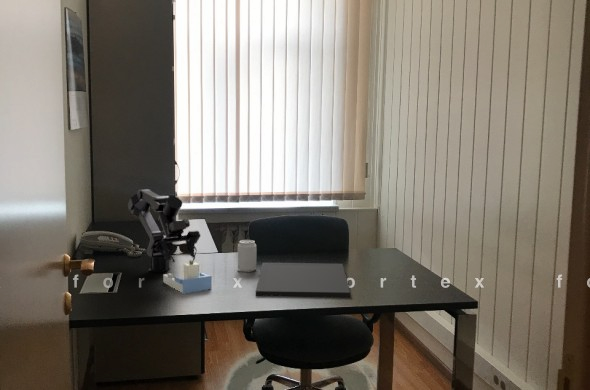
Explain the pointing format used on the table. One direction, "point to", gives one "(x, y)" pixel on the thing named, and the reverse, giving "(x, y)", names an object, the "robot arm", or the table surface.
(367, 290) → the table surface
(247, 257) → the can
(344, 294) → the thin dark grey tray
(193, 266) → the beige drawer with knob
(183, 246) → the sunglasses
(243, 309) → the table surface
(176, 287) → the sled frame
